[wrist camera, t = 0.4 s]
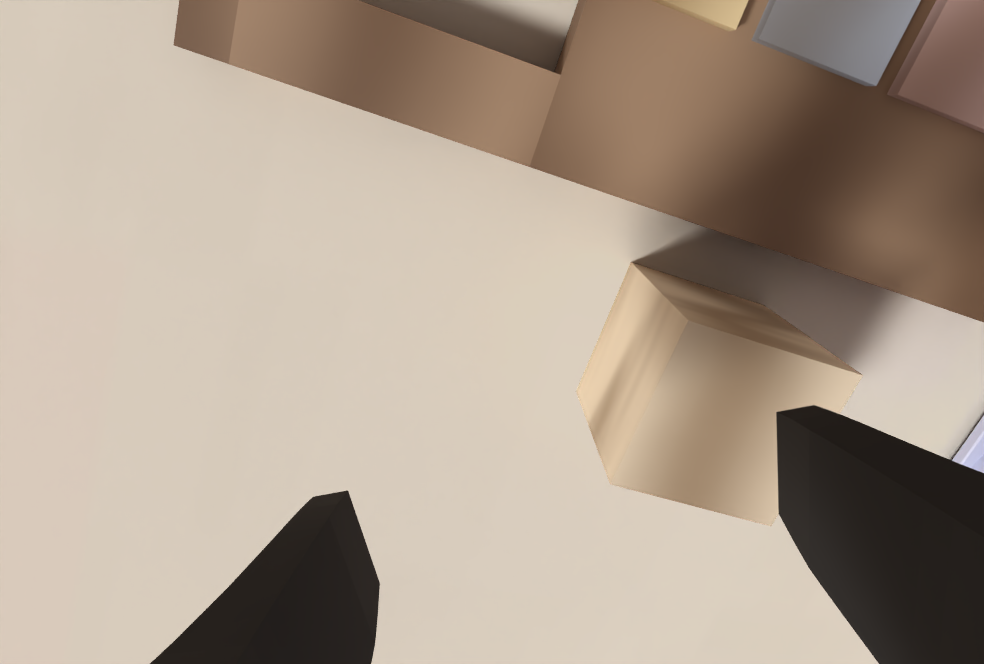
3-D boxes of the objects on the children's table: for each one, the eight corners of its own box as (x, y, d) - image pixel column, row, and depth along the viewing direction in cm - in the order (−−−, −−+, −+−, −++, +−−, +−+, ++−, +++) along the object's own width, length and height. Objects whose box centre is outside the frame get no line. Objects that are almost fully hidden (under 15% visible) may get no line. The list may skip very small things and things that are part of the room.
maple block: (763, 304, 18) (863, 375, 14) (700, 426, 20) (770, 526, 15) (630, 261, 18) (688, 320, 13) (575, 390, 19) (610, 484, 15)
